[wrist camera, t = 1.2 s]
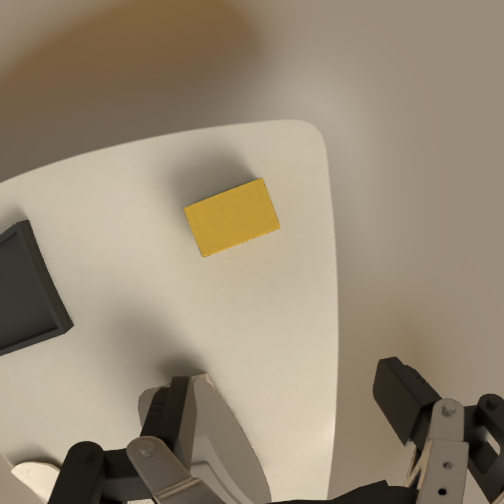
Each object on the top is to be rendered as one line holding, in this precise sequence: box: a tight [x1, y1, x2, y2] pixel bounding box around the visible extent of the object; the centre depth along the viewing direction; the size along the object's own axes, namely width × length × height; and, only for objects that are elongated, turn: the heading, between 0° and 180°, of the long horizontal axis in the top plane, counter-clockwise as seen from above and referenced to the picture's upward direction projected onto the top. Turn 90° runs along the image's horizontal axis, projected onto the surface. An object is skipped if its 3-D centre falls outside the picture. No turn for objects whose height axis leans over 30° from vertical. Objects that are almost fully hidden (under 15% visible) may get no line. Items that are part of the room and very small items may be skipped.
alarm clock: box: [138, 373, 271, 504], centre depth 27 cm, size 23×6×13 cm, turn 20°
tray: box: [0, 220, 74, 356], centre depth 27 cm, size 20×14×2 cm
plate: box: [10, 461, 60, 501], centre depth 36 cm, size 24×24×3 cm
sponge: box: [183, 178, 280, 258], centre depth 26 cm, size 7×4×4 cm, turn 111°
